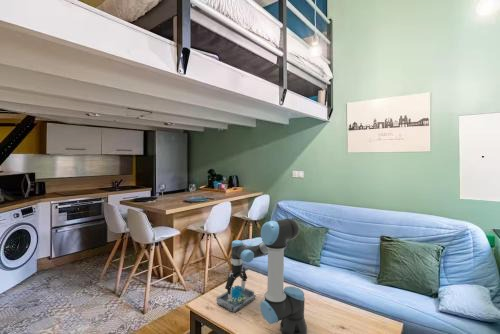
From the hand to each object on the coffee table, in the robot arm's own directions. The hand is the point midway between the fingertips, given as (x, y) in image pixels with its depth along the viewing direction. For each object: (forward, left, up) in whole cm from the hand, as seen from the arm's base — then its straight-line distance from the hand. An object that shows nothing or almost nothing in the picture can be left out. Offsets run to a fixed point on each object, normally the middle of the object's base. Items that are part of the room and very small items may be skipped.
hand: (236, 294), depth 171 cm
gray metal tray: (0, 0, -5) cm, 5 cm away
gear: (0, 0, -4) cm, 4 cm away
